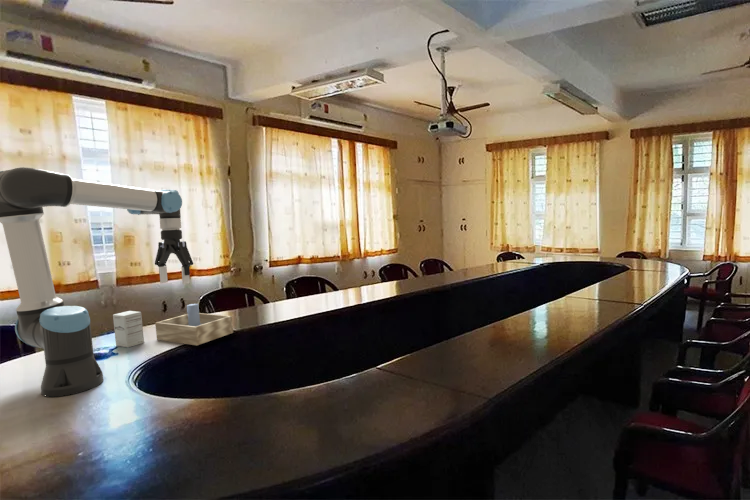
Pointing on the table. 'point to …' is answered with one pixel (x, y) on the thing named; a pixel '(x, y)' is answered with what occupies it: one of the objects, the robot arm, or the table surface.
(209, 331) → the crate
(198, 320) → the peg
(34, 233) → the robot arm
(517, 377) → the table surface
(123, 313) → the supplement box
